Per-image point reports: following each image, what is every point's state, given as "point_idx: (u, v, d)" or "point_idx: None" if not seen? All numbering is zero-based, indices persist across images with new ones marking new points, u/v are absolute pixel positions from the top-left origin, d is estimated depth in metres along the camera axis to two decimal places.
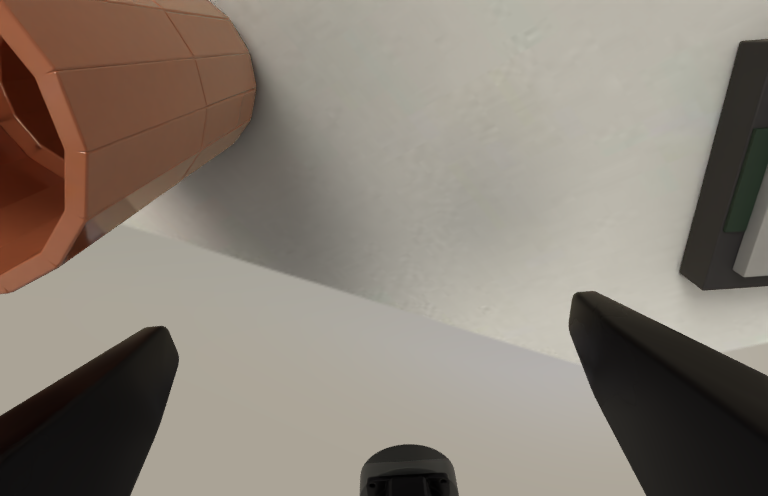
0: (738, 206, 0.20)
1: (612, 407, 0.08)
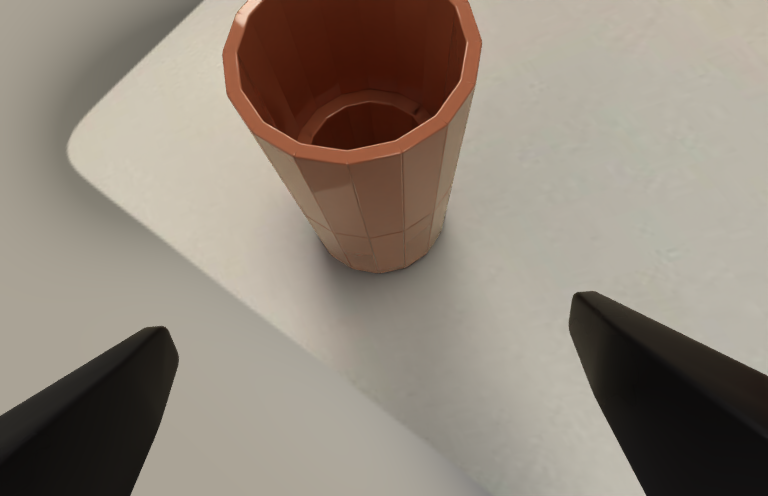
0: None
1: (612, 407, 0.08)
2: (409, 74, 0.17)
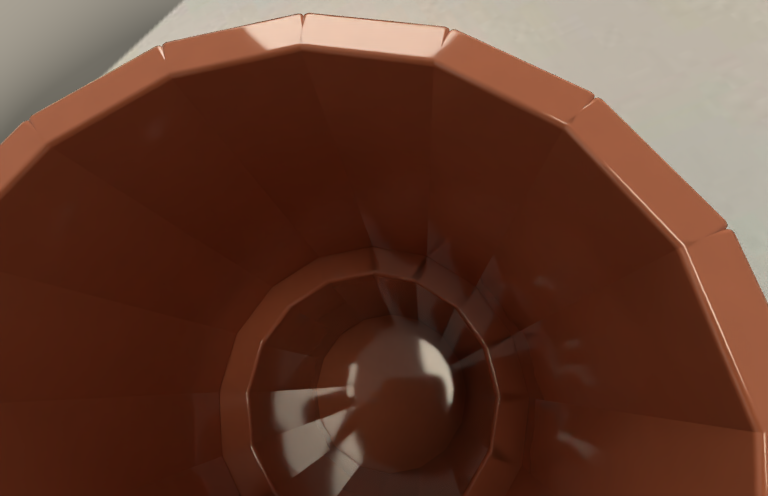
0: None
1: None
2: (455, 249, 0.08)
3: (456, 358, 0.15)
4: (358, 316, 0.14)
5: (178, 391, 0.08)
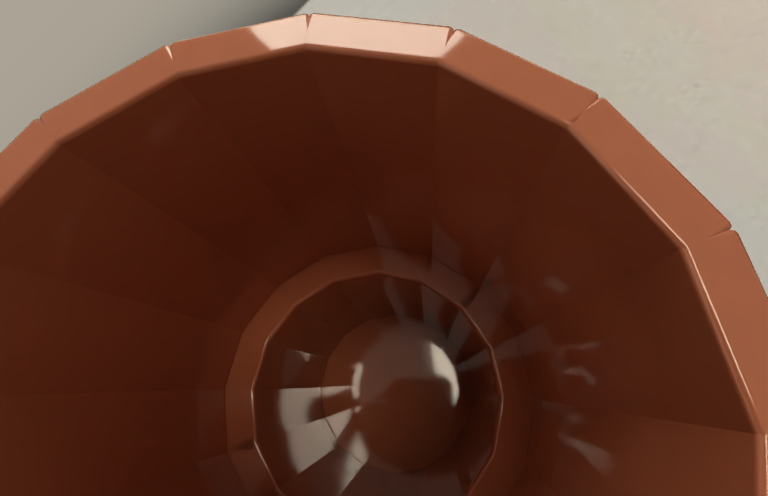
0: None
1: None
2: (460, 250, 0.08)
3: (461, 359, 0.15)
4: (363, 315, 0.15)
5: (184, 387, 0.08)
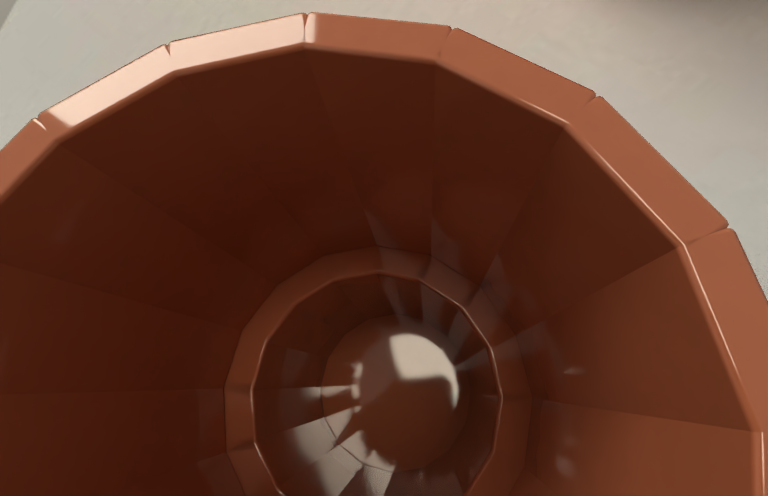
0: None
1: None
2: (458, 249, 0.08)
3: (460, 358, 0.15)
4: (363, 315, 0.15)
5: (183, 387, 0.08)
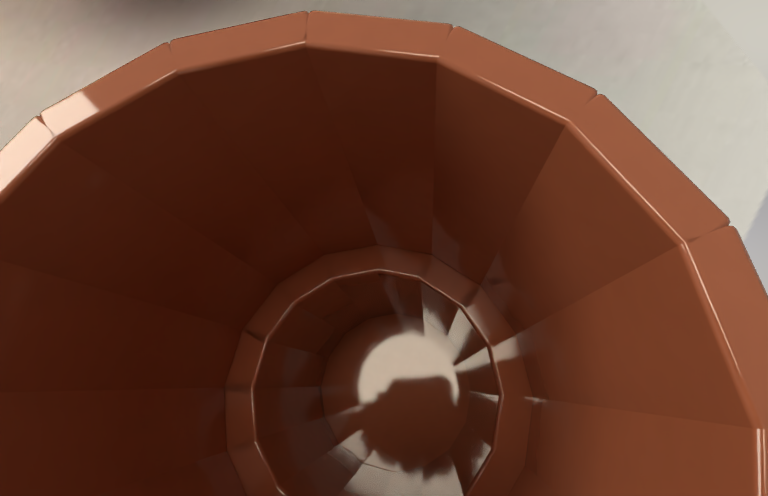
0: None
1: None
2: (459, 248, 0.08)
3: (461, 358, 0.15)
4: (363, 315, 0.15)
5: (184, 385, 0.08)
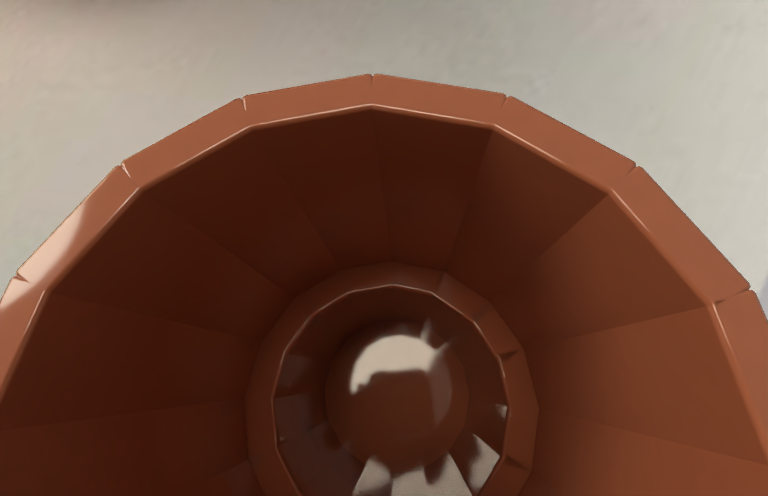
0: None
1: None
2: (475, 269, 0.09)
3: (460, 363, 0.15)
4: (367, 321, 0.15)
5: (213, 399, 0.08)
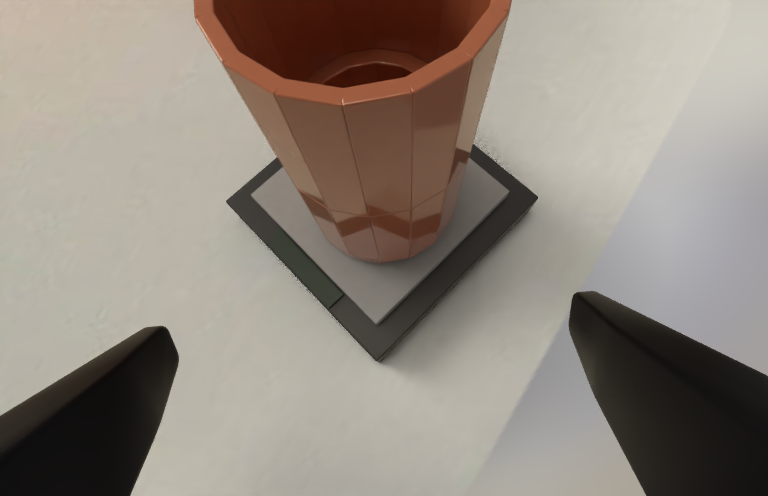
0: (314, 286, 0.21)
1: (612, 407, 0.08)
2: (423, 27, 0.15)
3: None
4: None
5: None
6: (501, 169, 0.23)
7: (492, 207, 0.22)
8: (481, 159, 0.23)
